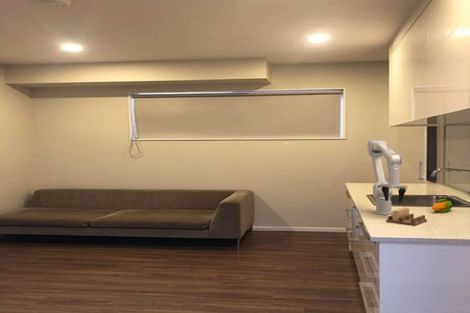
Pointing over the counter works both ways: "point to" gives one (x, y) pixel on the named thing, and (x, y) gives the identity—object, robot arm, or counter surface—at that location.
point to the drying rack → (408, 220)
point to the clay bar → (399, 213)
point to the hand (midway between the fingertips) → (393, 201)
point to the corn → (442, 206)
